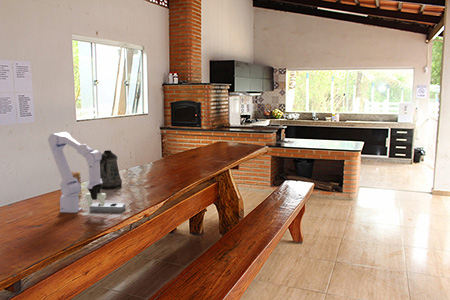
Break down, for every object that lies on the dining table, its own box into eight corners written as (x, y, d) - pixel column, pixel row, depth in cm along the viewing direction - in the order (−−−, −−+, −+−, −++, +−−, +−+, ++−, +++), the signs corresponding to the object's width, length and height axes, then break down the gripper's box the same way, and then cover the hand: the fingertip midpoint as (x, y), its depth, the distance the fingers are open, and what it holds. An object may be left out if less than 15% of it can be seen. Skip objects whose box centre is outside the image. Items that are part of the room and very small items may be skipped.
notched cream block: (85, 205, 214) (85, 194, 213) (88, 204, 217) (87, 192, 216) (104, 206, 214) (103, 194, 213) (106, 204, 217) (105, 193, 216)
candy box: (81, 194, 254) (80, 171, 252) (80, 196, 250) (78, 172, 248) (67, 195, 253) (65, 171, 251) (65, 197, 249) (63, 173, 247)
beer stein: (121, 182, 285) (120, 148, 281) (123, 189, 267) (122, 152, 263) (96, 184, 280) (95, 149, 276) (97, 191, 262) (95, 154, 258)
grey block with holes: (89, 211, 222) (89, 206, 222) (94, 207, 229) (94, 202, 229) (121, 212, 221) (121, 207, 221) (125, 208, 228) (125, 203, 227)
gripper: (96, 177, 205) (97, 202, 208) (106, 170, 220) (107, 194, 222) (83, 176, 206) (84, 202, 208) (94, 170, 220) (95, 194, 222)
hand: (95, 198), depth 215 cm, fingers closed on notched cream block, 3 cm apart
